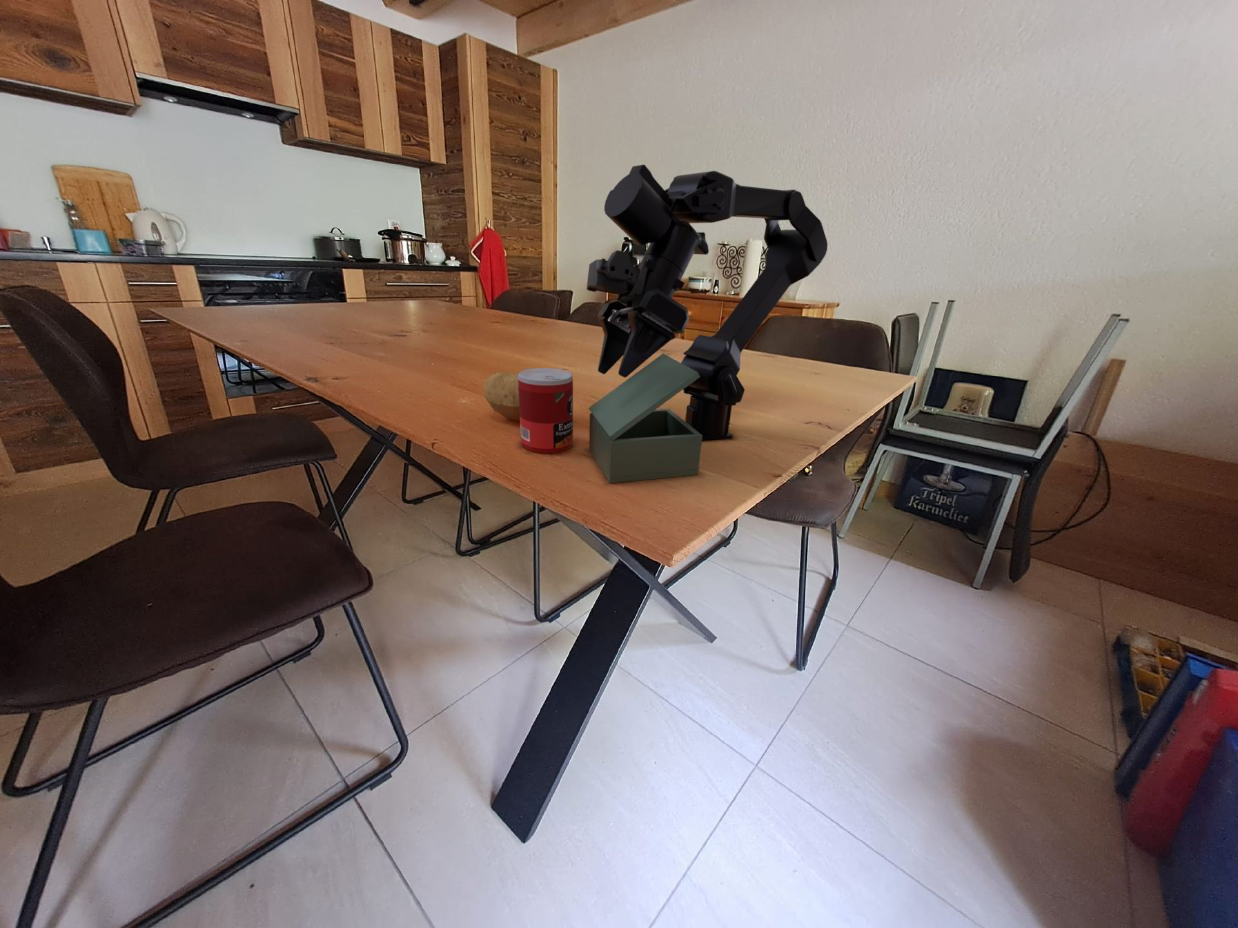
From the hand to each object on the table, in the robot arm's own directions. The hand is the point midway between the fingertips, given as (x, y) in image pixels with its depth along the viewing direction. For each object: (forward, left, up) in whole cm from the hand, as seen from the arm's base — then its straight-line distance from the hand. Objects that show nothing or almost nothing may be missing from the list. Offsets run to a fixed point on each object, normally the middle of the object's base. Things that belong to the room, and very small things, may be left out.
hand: (610, 374), depth 63 cm
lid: (-4, +2, -3) cm, 5 cm away
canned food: (+8, -7, -13) cm, 17 cm away
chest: (-5, +2, -12) cm, 13 cm away
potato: (+9, -19, -13) cm, 25 cm away
